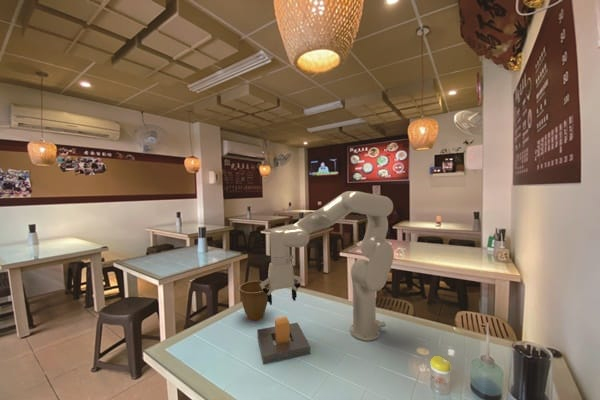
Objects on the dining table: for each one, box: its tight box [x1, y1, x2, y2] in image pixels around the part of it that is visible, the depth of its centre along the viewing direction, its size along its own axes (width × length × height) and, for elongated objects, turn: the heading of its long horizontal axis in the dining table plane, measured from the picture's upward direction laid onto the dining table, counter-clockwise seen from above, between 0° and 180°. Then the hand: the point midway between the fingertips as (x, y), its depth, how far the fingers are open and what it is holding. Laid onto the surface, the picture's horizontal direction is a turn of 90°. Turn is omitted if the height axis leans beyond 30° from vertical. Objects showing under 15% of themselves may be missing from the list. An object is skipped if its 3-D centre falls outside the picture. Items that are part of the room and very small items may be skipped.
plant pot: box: [238, 280, 269, 322], centre depth 122 cm, size 15×15×16 cm
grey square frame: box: [256, 322, 311, 365], centre depth 101 cm, size 18×18×3 cm
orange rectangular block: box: [274, 316, 291, 345], centre depth 101 cm, size 5×5×10 cm
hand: (282, 301), depth 100 cm, fingers open, 9 cm apart
